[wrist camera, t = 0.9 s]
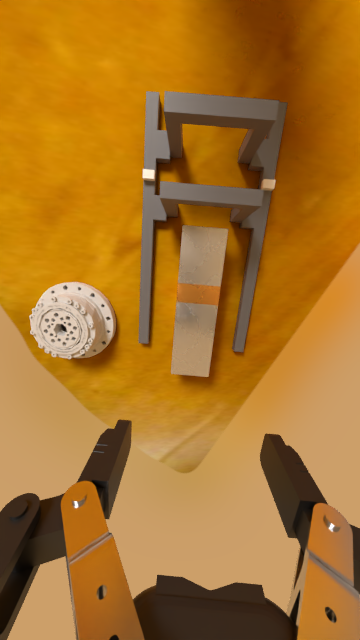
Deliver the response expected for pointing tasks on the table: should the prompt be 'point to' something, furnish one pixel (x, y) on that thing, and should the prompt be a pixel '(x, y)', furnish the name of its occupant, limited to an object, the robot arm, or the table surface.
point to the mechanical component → (73, 321)
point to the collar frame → (245, 202)
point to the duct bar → (197, 298)
